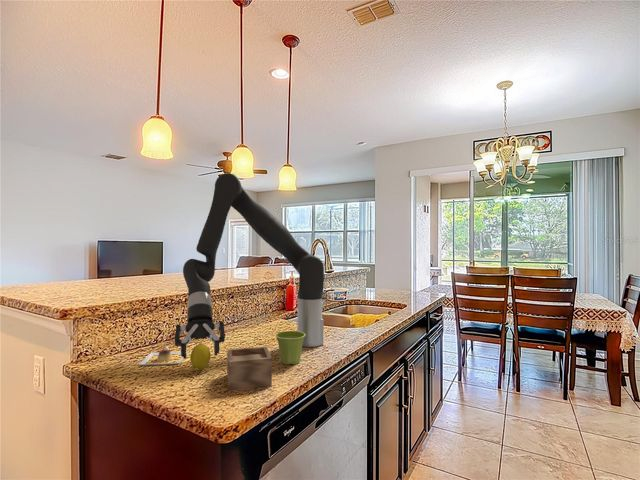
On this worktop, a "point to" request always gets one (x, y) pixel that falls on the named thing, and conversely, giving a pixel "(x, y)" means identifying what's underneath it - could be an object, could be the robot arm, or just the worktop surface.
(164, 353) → the white square frame
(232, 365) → the wooden box
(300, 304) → the robot arm
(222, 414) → the worktop surface
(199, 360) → the lemon
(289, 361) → the plant pot
